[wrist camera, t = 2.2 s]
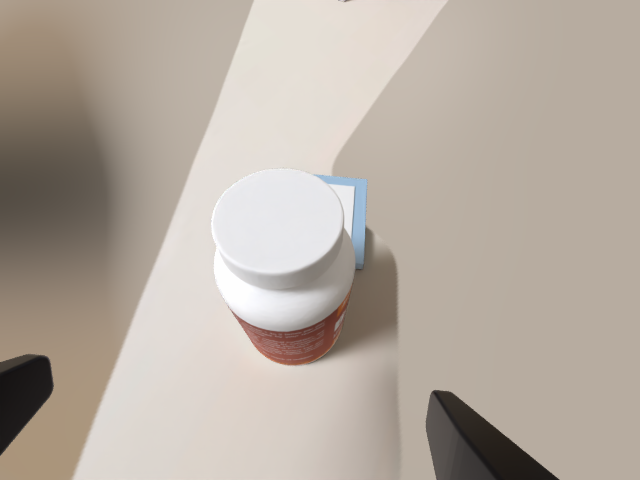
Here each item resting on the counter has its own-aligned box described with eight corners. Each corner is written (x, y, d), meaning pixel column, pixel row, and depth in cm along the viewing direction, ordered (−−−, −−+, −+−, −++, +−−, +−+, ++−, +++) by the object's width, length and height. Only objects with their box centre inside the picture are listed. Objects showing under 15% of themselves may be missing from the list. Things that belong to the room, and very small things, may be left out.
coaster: (362, 269, 22) (363, 263, 21) (252, 257, 22) (250, 251, 22) (365, 186, 26) (367, 178, 25) (273, 177, 27) (272, 169, 26)
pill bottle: (351, 358, 19) (388, 283, 9) (250, 376, 18) (179, 313, 9) (333, 268, 22) (347, 145, 13) (246, 280, 21) (193, 161, 12)
